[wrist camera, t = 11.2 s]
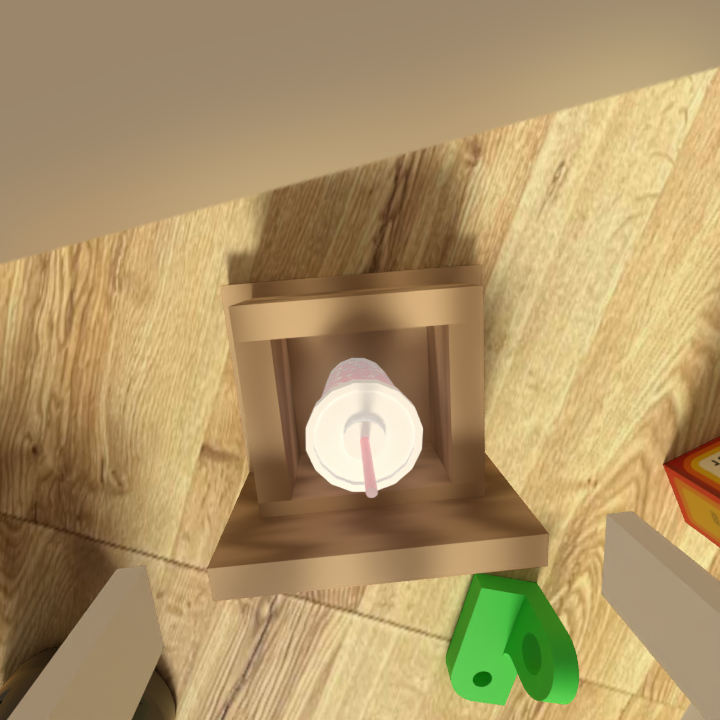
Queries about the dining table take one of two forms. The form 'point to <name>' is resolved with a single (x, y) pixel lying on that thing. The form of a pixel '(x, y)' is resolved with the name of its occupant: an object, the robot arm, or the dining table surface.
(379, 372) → the beverage cup
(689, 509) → the baking soda box
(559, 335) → the dining table surface
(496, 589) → the mechanical part
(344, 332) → the wooden caddy with backboard
